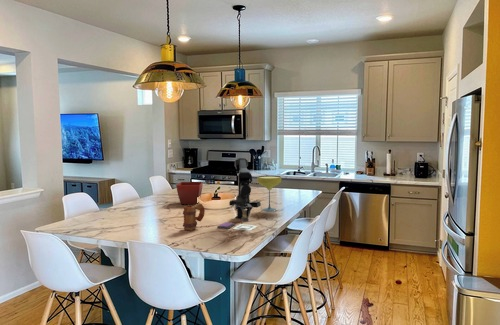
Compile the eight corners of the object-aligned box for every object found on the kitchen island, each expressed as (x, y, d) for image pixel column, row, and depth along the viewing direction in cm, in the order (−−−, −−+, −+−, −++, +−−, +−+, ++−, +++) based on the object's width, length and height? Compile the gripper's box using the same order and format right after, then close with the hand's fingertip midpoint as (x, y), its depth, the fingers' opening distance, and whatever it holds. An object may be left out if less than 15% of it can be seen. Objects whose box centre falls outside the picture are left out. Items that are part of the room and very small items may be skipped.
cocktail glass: (268, 213, 264) (268, 179, 262) (252, 209, 278) (252, 176, 276) (286, 210, 275) (286, 176, 274) (270, 206, 289) (269, 174, 287)
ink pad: (225, 224, 235) (225, 222, 235) (234, 225, 232) (234, 223, 232) (217, 227, 226) (217, 225, 225) (227, 228, 223) (227, 226, 223)
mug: (185, 232, 217) (185, 206, 216) (179, 229, 223) (179, 204, 222) (207, 228, 225) (207, 203, 224) (201, 225, 232) (200, 201, 231)
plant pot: (200, 205, 297) (199, 184, 296) (176, 205, 297) (175, 185, 296) (203, 201, 316) (203, 181, 315) (181, 201, 316) (180, 182, 315)
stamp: (243, 220, 228) (243, 209, 228) (249, 220, 226) (249, 209, 226) (240, 221, 224) (240, 210, 224) (246, 222, 222) (246, 211, 222)
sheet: (240, 224, 233) (240, 223, 233) (258, 226, 229) (258, 225, 229) (232, 228, 223) (232, 228, 223) (250, 230, 218) (250, 230, 218)
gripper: (224, 193, 220) (225, 218, 222) (253, 195, 213) (253, 221, 214) (233, 190, 231) (233, 215, 232) (260, 192, 223) (261, 217, 224)
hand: (245, 217), depth 225 cm, fingers closed on stamp, 3 cm apart
